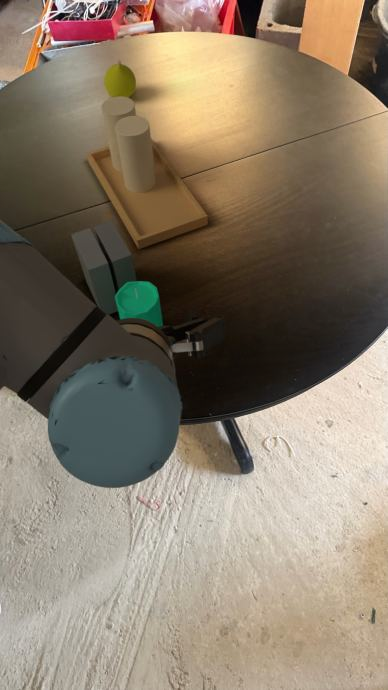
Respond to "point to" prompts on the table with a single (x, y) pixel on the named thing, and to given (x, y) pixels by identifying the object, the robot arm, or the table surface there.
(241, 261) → the table surface
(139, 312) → the candle
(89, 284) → the grey book
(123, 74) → the ornament
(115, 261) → the grey book
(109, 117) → the cream candle
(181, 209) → the tray
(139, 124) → the cream candle
